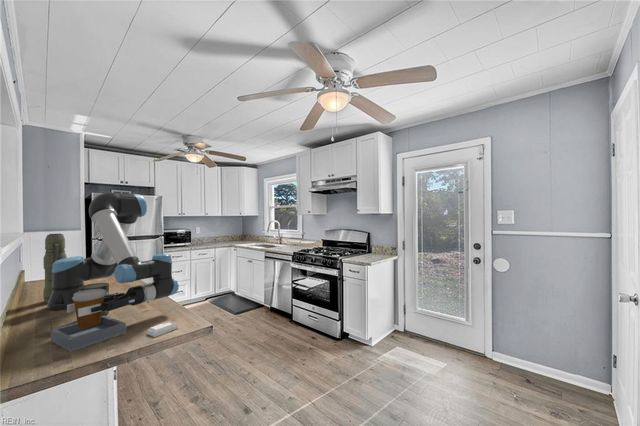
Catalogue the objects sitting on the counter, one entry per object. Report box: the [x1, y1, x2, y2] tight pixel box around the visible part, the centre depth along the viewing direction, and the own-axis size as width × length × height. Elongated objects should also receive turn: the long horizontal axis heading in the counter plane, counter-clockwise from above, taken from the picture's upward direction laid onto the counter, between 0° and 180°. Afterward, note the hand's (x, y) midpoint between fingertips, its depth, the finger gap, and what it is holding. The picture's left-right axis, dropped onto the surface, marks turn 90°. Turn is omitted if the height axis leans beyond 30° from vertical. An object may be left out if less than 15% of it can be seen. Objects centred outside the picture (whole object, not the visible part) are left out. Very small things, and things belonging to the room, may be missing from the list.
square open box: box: [50, 316, 127, 352], centre depth 103 cm, size 16×16×4 cm
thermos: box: [42, 233, 68, 304], centre depth 147 cm, size 9×12×35 cm
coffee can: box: [79, 282, 110, 317], centre depth 122 cm, size 10×10×14 cm
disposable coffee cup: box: [72, 289, 106, 328], centre depth 103 cm, size 10×10×12 cm
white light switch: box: [146, 321, 179, 338], centre depth 107 cm, size 5×9×3 cm, turn 148°
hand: (73, 310), depth 98 cm, fingers closed on disposable coffee cup, 8 cm apart
